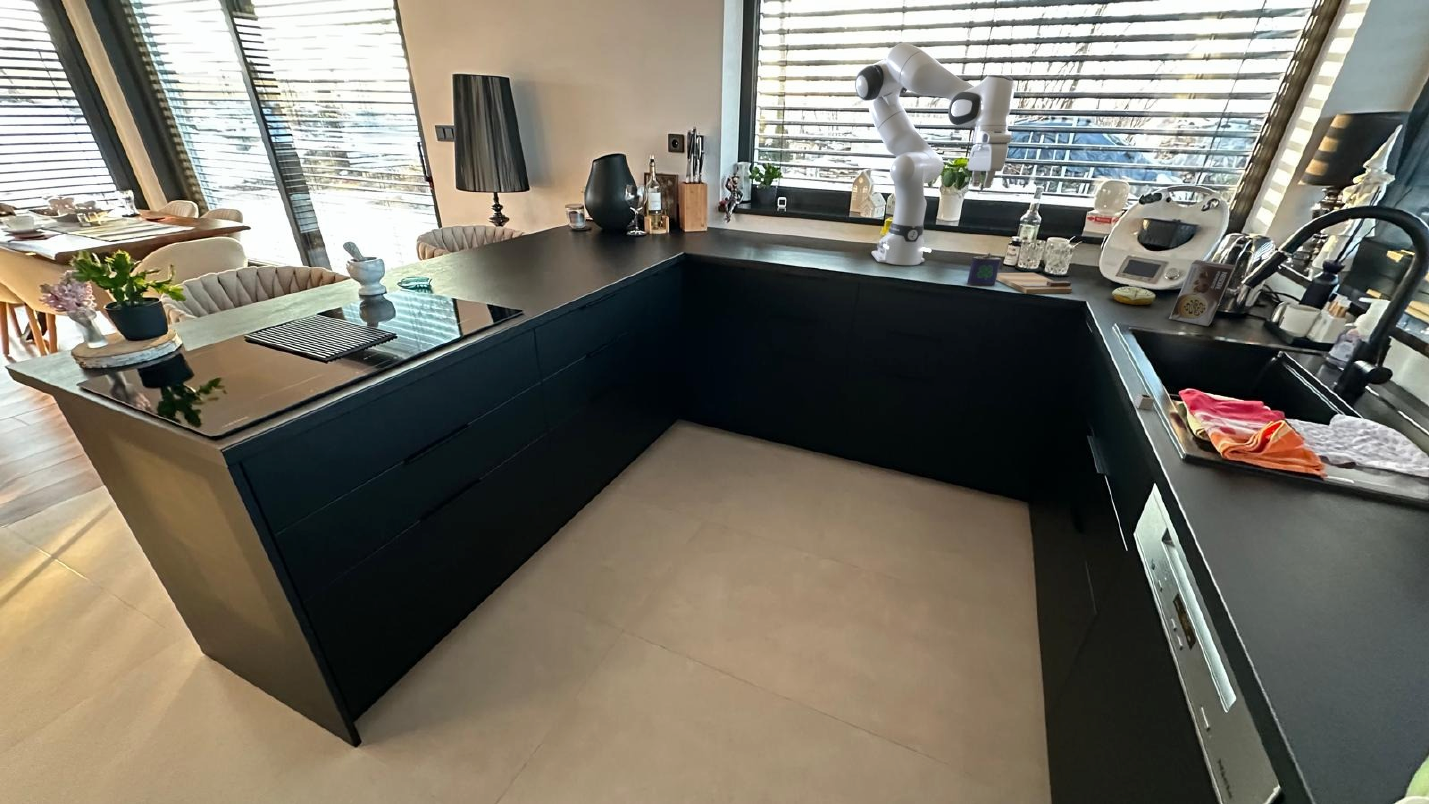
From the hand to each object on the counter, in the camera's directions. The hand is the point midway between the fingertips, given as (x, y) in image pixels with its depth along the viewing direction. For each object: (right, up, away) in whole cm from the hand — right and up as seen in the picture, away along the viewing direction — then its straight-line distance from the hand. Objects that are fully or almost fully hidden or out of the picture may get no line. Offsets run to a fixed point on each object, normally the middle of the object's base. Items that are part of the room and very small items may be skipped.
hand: (980, 187), depth 170 cm
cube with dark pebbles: (+2, -67, -61) cm, 91 cm away
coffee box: (+54, -43, -12) cm, 70 cm away
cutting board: (+25, -26, +18) cm, 41 cm away
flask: (+8, -26, +17) cm, 33 cm away
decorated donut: (+48, -35, +3) cm, 60 cm away
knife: (+26, -28, +12) cm, 40 cm away
